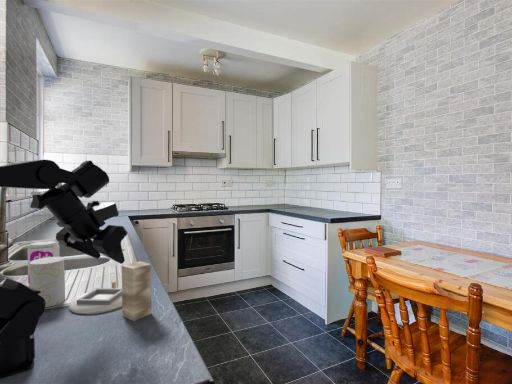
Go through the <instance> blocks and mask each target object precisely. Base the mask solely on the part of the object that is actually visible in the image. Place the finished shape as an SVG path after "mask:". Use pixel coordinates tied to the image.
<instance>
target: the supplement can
mask: <svg viewBox="0 0 512 384" xmlns="http://www.w3.org/2000/svg"><path fill="white" fill-rule="evenodd" d="M60 254H61V253H60V245H59V242H58V241H57V240H42V241H34V242H31V243H29V246H28V248H27V273H28V274H27V278H28V279H27V280H28V284H27V285H28V287H30V274H29V262H31V261H33V260H36V259H41V258H47V257H61V255H60Z"/></svg>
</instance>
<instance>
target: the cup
mask: <svg viewBox="0 0 512 384" xmlns="http://www.w3.org/2000/svg"><path fill="white" fill-rule="evenodd" d="M65 270H66V269H65V258H64V257H63V256H60V257H47V258H41V259H36V260H33V261H31V262H29V274H30V287H31V288H34V289H36V290H39V291H41V293H39V294H38V295H40V296H42V297H43V298H44V299H45V305H46V306H45V308H50V307H52V306H56V305H60V303H63V302H64V301H65V300H66V282H65V281H66V279H65V278H66V275H65V272H66V271H65Z"/></svg>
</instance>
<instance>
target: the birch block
mask: <svg viewBox="0 0 512 384" xmlns="http://www.w3.org/2000/svg"><path fill="white" fill-rule="evenodd" d="M151 267H152V265H151V263H147V262H144V261H140V260H139V261H136V262H135V261H134V262H131V263H127V264H122V265H121V288H122V307H121V309H122V313H121V314H122V317H124V318H126V319H127V320H130V321H131V322H136V321H138V320H140V319H142V318H145V317H146V316H149V315H151V314H152V268H151Z"/></svg>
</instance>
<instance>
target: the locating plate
mask: <svg viewBox="0 0 512 384" xmlns="http://www.w3.org/2000/svg"><path fill="white" fill-rule="evenodd" d="M68 308H69V311H70V312H72V313H75V314H78V315H79V314H80V315H93V314H94V315H96V314H102V313H107V312H111V311H114V310H118V309H120V308H122V287H120V288H119V287H117V281H112V282H111V287H110V288H109V287H106V288H105V287H104V288H103V287H100V288H99V287H96V288H95V289H93V290H91V291H88V292H86V293H85V292H84V293H82V294H80V295H78V296H76V297H74V298H72V299H71V300H70V301H69V305H68Z"/></svg>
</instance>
